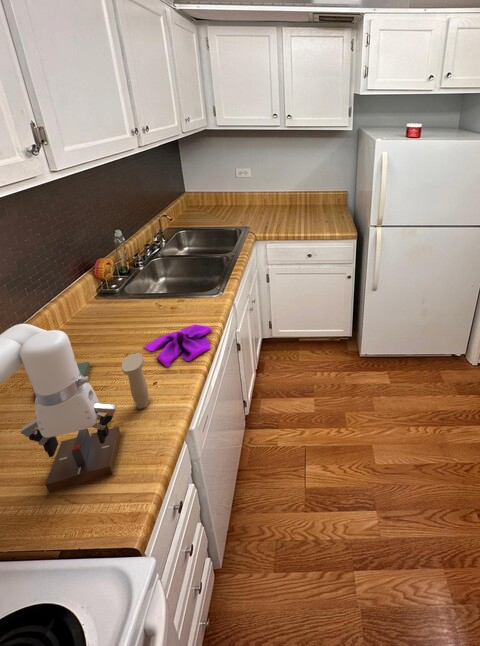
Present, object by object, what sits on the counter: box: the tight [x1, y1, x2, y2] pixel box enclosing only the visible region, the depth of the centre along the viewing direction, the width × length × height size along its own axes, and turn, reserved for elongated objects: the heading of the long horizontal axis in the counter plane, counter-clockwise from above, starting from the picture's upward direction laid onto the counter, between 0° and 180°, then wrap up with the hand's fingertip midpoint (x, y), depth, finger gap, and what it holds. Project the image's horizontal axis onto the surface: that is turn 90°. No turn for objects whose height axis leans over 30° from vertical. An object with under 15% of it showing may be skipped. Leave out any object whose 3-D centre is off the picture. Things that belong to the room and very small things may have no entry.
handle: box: [121, 352, 150, 410], centre depth 88 cm, size 5×6×15 cm
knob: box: [72, 428, 92, 466], centre depth 75 cm, size 6×2×5 cm, turn 19°
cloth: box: [144, 324, 213, 368], centre depth 112 cm, size 22×19×6 cm
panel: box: [44, 426, 122, 494], centre depth 76 cm, size 12×10×3 cm
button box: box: [33, 361, 91, 397], centre depth 97 cm, size 11×9×4 cm
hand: (79, 444), depth 75 cm, fingers open, 9 cm apart
